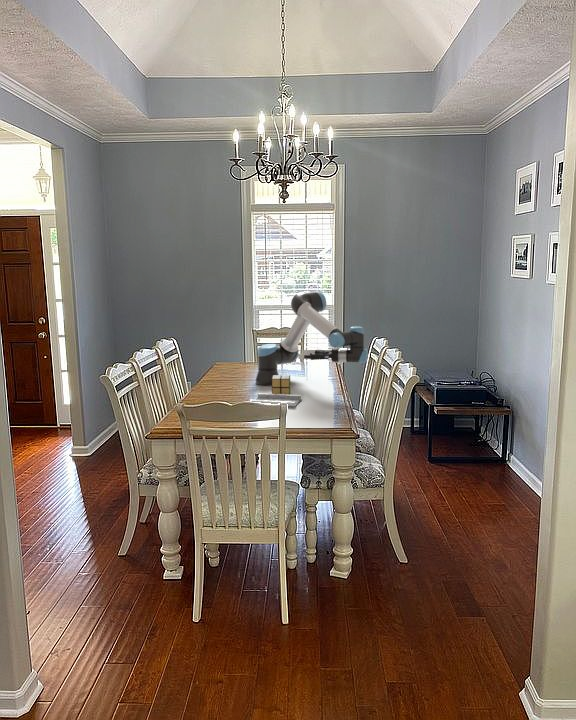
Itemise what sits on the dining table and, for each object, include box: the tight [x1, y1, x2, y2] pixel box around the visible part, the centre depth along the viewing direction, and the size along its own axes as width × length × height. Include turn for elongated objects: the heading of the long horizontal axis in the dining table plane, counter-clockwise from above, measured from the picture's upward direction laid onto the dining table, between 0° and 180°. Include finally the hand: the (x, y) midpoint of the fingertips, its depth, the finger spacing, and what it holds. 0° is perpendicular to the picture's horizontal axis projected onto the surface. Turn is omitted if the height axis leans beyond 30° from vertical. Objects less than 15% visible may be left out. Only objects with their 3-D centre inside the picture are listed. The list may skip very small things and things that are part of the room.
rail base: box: [249, 392, 302, 409], centre depth 315 cm, size 24×17×3 cm
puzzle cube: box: [271, 374, 291, 395], centre depth 334 cm, size 10×10×10 cm
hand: (300, 354), depth 329 cm, fingers open, 13 cm apart
